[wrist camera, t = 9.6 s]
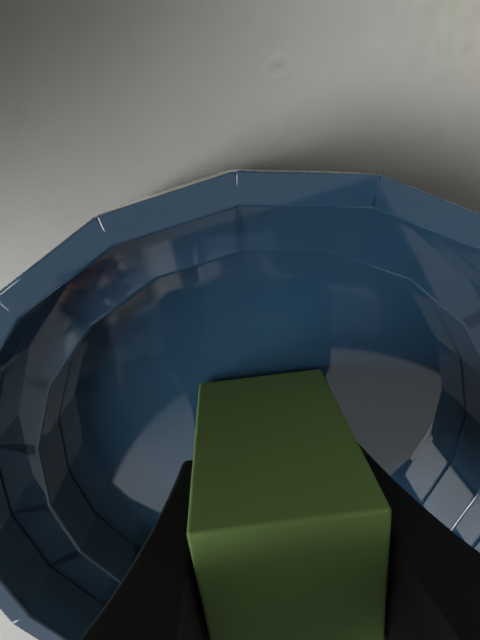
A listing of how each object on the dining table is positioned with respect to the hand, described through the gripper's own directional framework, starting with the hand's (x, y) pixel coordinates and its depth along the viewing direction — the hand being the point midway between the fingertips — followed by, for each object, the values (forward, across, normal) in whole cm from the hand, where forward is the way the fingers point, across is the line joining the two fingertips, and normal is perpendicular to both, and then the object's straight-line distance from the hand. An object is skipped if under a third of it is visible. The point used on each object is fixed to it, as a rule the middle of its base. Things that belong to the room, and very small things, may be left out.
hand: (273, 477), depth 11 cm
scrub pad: (+1, 0, 0) cm, 1 cm away
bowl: (+2, 0, 0) cm, 2 cm away
